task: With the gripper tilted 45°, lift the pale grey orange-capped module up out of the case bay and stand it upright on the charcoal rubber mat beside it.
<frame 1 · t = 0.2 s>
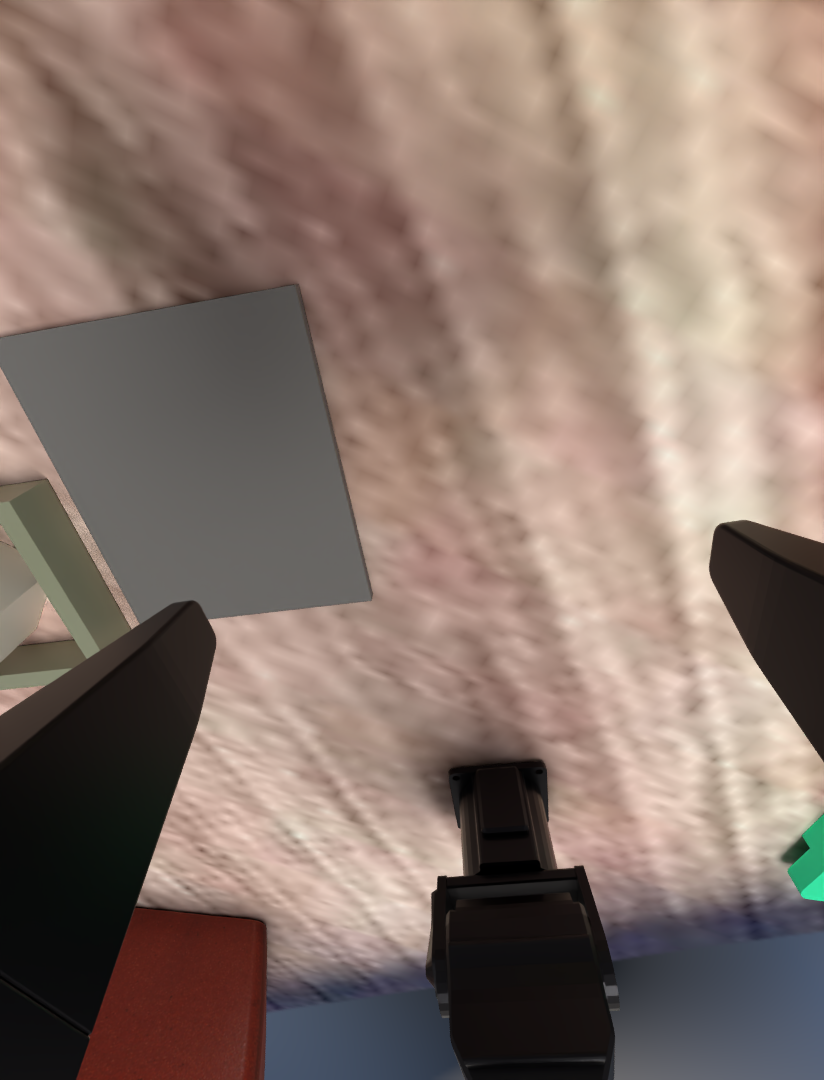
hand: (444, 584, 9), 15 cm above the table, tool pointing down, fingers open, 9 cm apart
rubber mat: (208, 482, 24), on the table
plant pot: (200, 939, 48), on the table
case bay: (7, 582, 27), on the table
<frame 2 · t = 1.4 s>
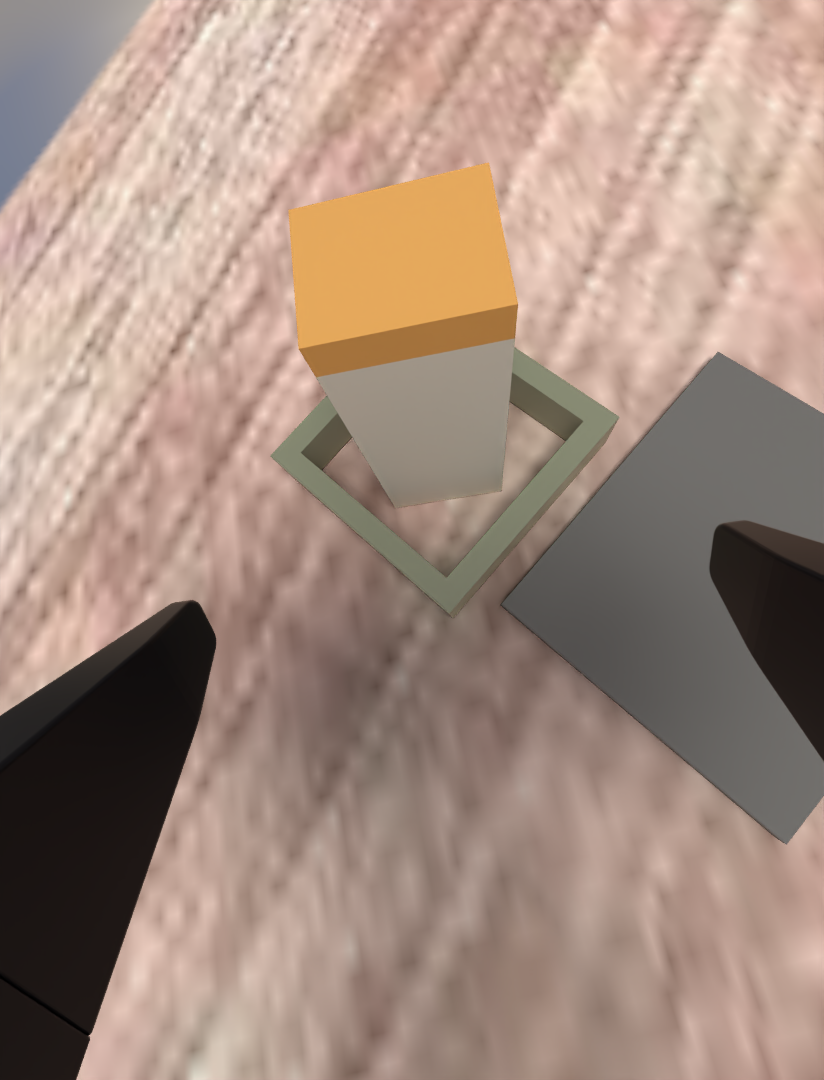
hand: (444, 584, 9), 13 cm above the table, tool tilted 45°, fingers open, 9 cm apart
rubber mat: (740, 572, 20), on the table
case bay: (441, 459, 24), on the table
module: (426, 392, 18), in the case bay
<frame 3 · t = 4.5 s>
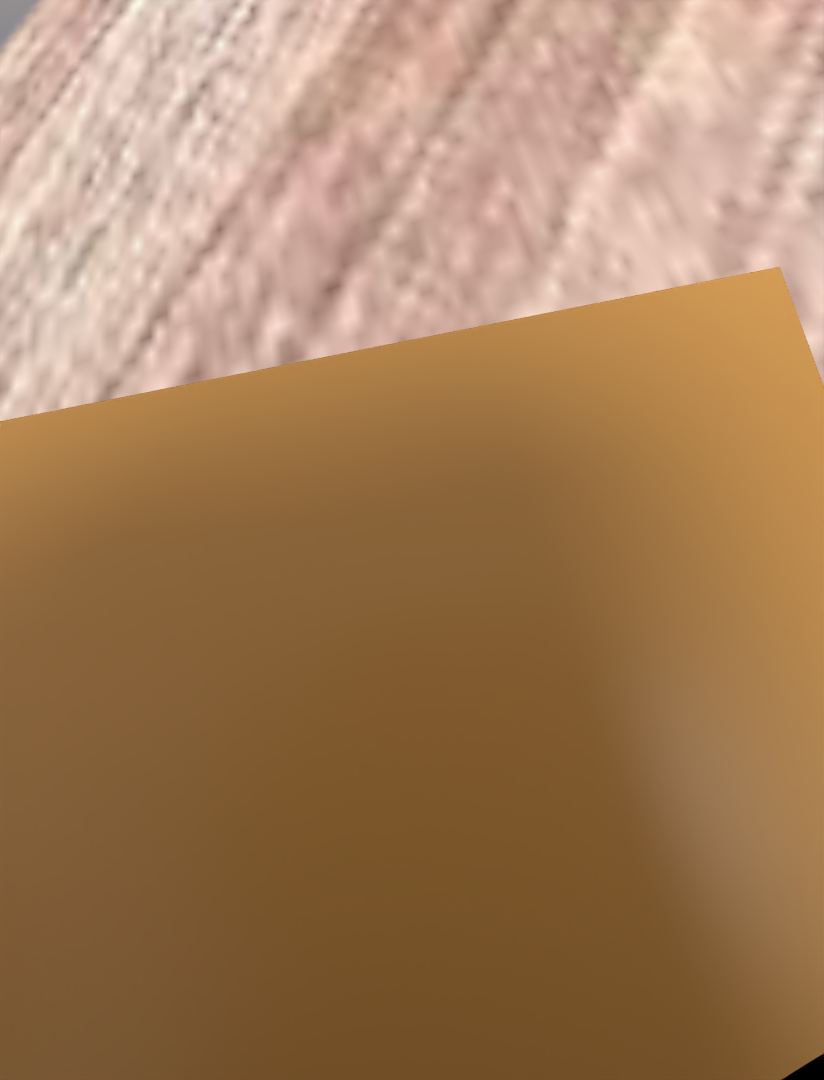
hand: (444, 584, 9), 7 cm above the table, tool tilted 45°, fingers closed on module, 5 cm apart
module: (457, 666, 9), in the case bay, touching gripper
when the fingers open (8 cm above the table, at t = 9.0 s): module drops 1 cm, resting on rubber mat.
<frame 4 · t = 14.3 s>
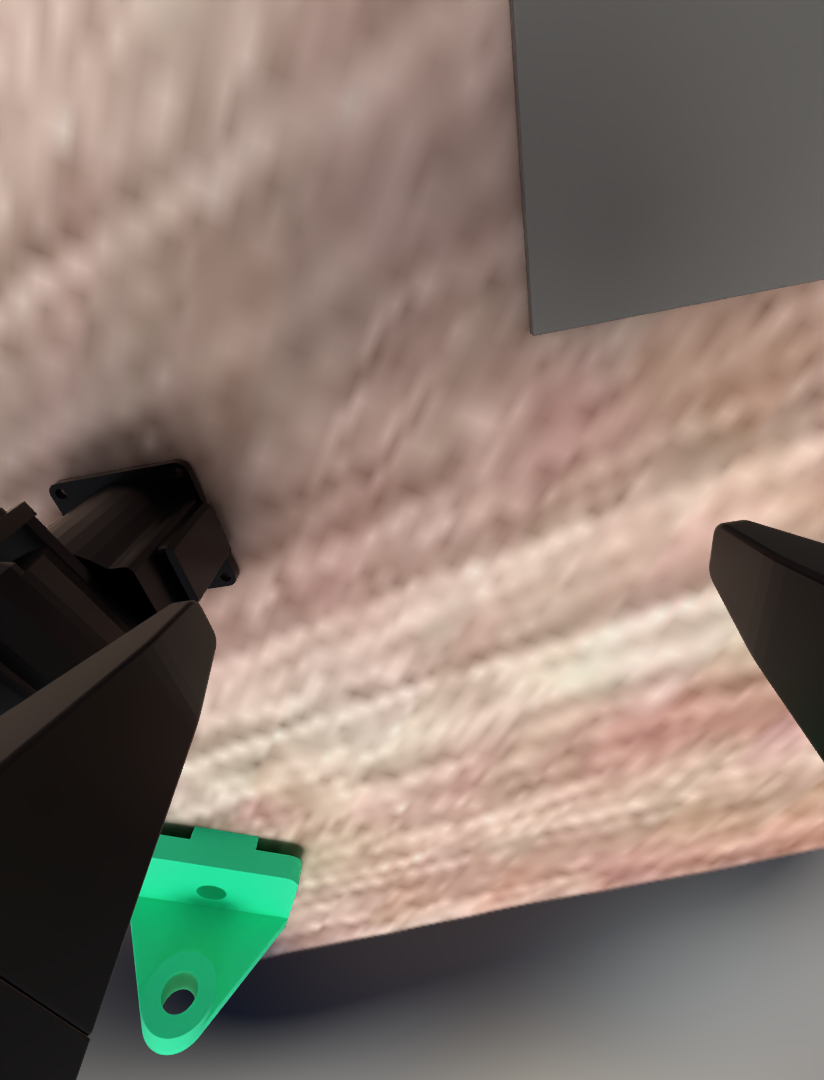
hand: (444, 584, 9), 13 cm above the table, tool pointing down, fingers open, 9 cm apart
rubber mat: (774, 48, 14), on the table
camera mount: (224, 852, 39), on the table
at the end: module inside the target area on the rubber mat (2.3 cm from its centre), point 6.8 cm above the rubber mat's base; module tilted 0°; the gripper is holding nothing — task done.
